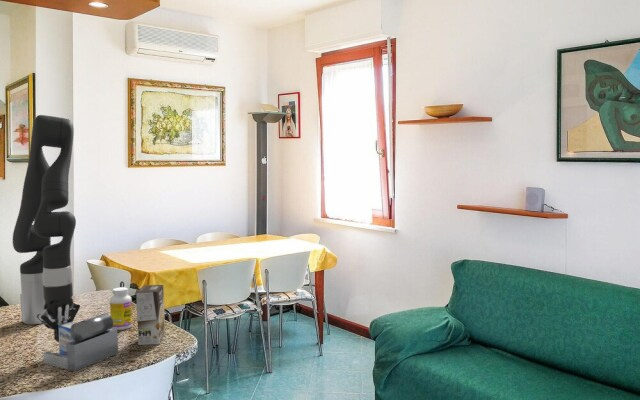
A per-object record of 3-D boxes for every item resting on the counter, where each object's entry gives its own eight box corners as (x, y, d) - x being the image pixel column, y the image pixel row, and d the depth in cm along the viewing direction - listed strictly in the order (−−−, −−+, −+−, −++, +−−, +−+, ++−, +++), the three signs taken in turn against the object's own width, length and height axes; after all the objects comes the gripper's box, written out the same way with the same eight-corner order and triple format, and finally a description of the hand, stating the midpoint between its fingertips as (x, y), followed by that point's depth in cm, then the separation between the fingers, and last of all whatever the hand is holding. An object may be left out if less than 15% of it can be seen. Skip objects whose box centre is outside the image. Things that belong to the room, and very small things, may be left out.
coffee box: (159, 344, 166) (157, 291, 164) (137, 345, 165) (135, 292, 164) (165, 334, 175) (163, 284, 173) (144, 335, 174) (142, 284, 173)
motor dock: (44, 363, 152) (41, 320, 151) (87, 346, 165) (85, 307, 163) (78, 371, 146) (75, 327, 145) (120, 353, 158) (118, 312, 157)
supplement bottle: (125, 331, 179) (123, 291, 178) (107, 330, 180) (105, 291, 179) (136, 324, 185) (134, 286, 184) (118, 323, 186) (116, 286, 185)
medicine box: (58, 355, 158) (57, 325, 157) (73, 350, 161) (71, 321, 161) (76, 360, 154) (74, 330, 153) (90, 355, 157) (89, 325, 156)
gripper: (68, 275, 165) (71, 331, 167) (27, 285, 153) (30, 346, 155) (86, 278, 161) (88, 336, 163) (45, 289, 150) (48, 351, 152)
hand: (60, 341), depth 159 cm, fingers closed
